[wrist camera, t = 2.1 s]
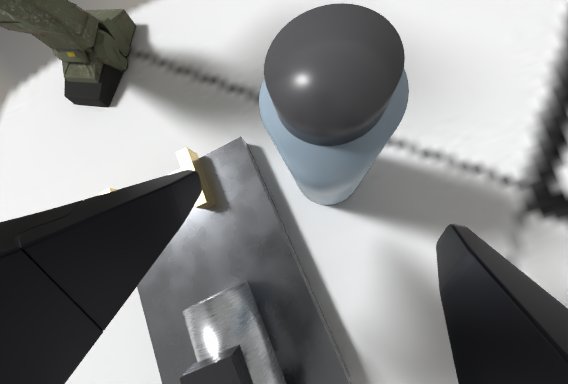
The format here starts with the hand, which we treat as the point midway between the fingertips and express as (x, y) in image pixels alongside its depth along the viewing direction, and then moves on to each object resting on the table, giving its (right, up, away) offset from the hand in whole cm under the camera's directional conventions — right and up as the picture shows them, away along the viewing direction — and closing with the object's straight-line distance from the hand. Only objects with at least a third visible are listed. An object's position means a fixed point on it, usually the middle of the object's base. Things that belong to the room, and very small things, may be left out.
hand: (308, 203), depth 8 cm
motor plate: (-6, -7, +11) cm, 14 cm away
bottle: (+3, +2, +11) cm, 11 cm away
